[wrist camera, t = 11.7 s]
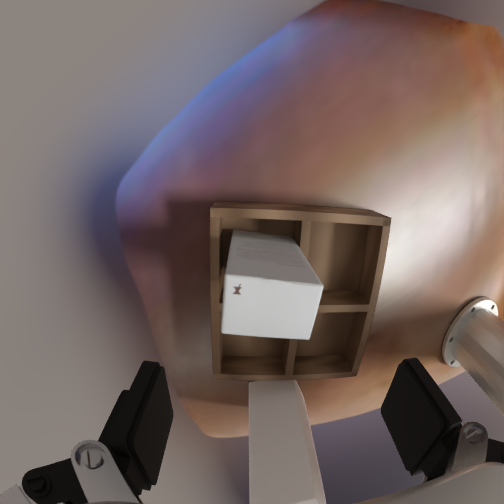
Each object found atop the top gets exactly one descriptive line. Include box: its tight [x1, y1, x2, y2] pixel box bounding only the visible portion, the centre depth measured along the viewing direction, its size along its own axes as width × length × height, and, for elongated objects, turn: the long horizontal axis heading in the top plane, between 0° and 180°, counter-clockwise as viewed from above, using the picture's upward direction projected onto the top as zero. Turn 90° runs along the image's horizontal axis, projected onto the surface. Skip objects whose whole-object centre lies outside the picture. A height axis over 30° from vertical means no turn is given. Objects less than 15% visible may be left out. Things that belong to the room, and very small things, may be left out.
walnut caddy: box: [210, 202, 391, 381], centre depth 29 cm, size 16×18×4 cm
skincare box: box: [221, 230, 324, 340], centre depth 23 cm, size 6×4×12 cm
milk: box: [249, 380, 326, 504], centre depth 25 cm, size 6×6×22 cm
